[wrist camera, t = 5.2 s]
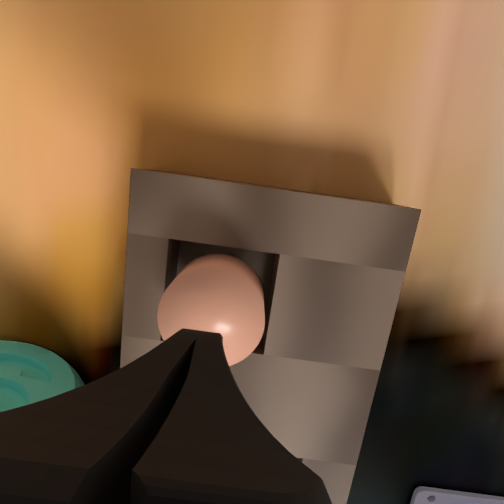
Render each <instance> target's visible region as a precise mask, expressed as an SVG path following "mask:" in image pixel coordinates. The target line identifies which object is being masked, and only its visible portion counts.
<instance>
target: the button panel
mask: <svg viewBox="0 0 504 504" xmlns="http://www.w3.org/2000/svg"><path fill="white" fill-rule="evenodd" d="M420 213H421V210H420V209H415V208H410V207H405V206H399V205H394V204H388V203H381V202H374V201H367V200H360V199H353V198H346V197H339V196H332V195H325V194H317V193H310V192H303V191H296V190H289V189H282V188H275V187H268V186H261V185H254V184H247V183H240V182H233V181H226V180H219V179H212V178H205V177H198V176H191V175H184V174H177V173H170V172H163V171H156V170H146V169H133V168H131V177H130V195H129V214H128V232H127V250H126V269H125V287H124V305H123V323H122V342H121V360H120V368H122V367H124V366H126V365H127V364H129V363H131V362H132V361H134V360H136V359H137V358H139V357H141V356H143V355H144V354H146V353H148V352H149V351H151V350H152V349H153V348H155V347H156V346H158V345H159V344H161V343H162V342H164V340H163V338H162V336H161V334H160V331H159V327H158V320H157V312H158V306H159V303H160V300H161V298H162V295H163V294H164V292H165V290H166V289H167V288H168V286H169V285H170V284H171V283H172V282H173V280H174V279H175V278H176V277H177V275H178V274H179V273H180V272H181V271H182V269H183V268H184V267H185V266H186V265H187V264H188V263H189V262H190V261H192V260H193V259H195V258H197V257H199V256H201V255H204V254H208V253H215V252H220V253H228V254H232V255H235V256H237V257H239V258H241V259H243V260H244V261H246V262H247V263H248V264H249V265H250V266H251V267H252V268H253V269H254V270H255V271H256V273H257V274H258V276H259V278H260V280H261V283H262V286H263V292H264V311H265V327H264V332H263V335H262V338H261V340H260V342H259V344H258V345H257V347H256V348H255V349H254V351H253V352H252V353H251V354H250V355H249V356H247V357H246V358H245V359H244V360H242V361H240V362H238V363H236V364H234V365H231V366H229V367H230V370H231V372H232V375H233V377H234V379H235V381H236V383H237V385H238V387H239V389H240V391H241V393H242V395H243V396H244V398H245V400H246V401H247V403H248V404H249V406H250V407H251V409H252V410H253V412H254V413H255V415H256V416H257V417H258V419H259V420H260V421H261V422H262V423H263V425H264V426H265V427H266V428H267V429H268V431H269V432H270V433H271V434H272V435H273V436H274V437H275V438H276V439H277V440H278V441H279V442H280V443H281V444H282V445H283V446H284V447H285V448H286V449H287V450H288V451H289V452H290V453H291V454H292V455H294V456H295V457H296V458H297V459H299V460H300V461H301V462H302V463H303V464H305V465H306V466H307V467H308V468H310V469H311V470H312V471H313V472H314V473H316V474H317V475H318V476H319V477H321V479H322V480H323V482H324V484H325V487H326V489H327V492H328V494H329V497H330V499H331V502H332V504H346V503H347V499H348V495H349V492H350V488H351V484H352V480H353V476H354V472H355V468H356V464H357V460H358V456H359V452H360V448H361V444H362V440H363V437H364V433H365V429H366V425H367V421H368V417H369V413H370V409H371V405H372V401H373V397H374V393H375V389H376V385H377V382H378V378H379V374H380V370H381V366H382V362H383V358H384V354H385V350H386V346H387V342H388V338H389V334H390V330H391V327H392V323H393V319H394V315H395V311H396V307H397V303H398V299H399V295H400V291H401V287H402V283H403V279H404V275H405V272H406V268H407V264H408V260H409V256H410V252H411V248H412V244H413V240H414V236H415V232H416V228H417V224H418V220H419V217H420Z"/></svg>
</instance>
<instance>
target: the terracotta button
mask: <svg viewBox="0 0 504 504" xmlns="http://www.w3.org/2000/svg"><path fill="white" fill-rule="evenodd" d="M157 320H158V327H159V331H160V334H161V336H162V338H163V340H164V341H165V340H166V339H168V338H169V337H171V336H172V335H173V334H175V333H176V332H178V331H179V330H181V329H182V328H185V329H192V330H199V331H207V332H214V333H220V334H221V335H222V337H223V348H224V352H225V356H226V359H227V362H228V364H229V366H231V365H234V364H236V363H238V362H240V361H242V360H244V359H245V358H246V357H247V356H249V355H250V354H251V353H252V352H253V351H254V349H255V348H256V347H257V345H258V344H259V342H260V340H261V338H262V335H263V332H264V327H265V311H264V292H263V286H262V283H261V280H260V278H259V276H258V274H257V273H256V271H255V270H254V269H253V268H252V267H251V266H250V265H249V264H248V263H247V262H246V261H244V260H243V259H241V258H239V257H237V256H235V255H232V254H228V253H220V252H215V253H208V254H204V255H201V256H199V257H197V258H195V259H193V260H192V261H190V262H189V263H188V264H187V265H186V266H185V267H184V268H183V269H182V271H181V272H180V273H179V274H178V275H177V277H176V278H175V279H174V280H173V282H172V283H171V284H170V285H169V286H168V288H167V289H166V290H165V292H164V294H163V295H162V298H161V300H160V303H159V306H158V312H157Z"/></svg>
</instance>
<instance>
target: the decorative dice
mask: <svg viewBox="0 0 504 504" xmlns="http://www.w3.org/2000/svg"><path fill="white" fill-rule="evenodd" d="M83 385H85V384H84V382H83V381H82V379H81V377H80V376H79V374H78V373H77V372H76V371H75V370H74V369H73V367H72V366H70V365H69V364H68V363H67V362H66V361H65V360H63V359H62V358H61V357H60V356H58V355H57V354H55V353H53V352H51V351H50V350H47V349H45V348H42V347H40V346H36V345H33V344H28V343H23V342H17V341H5V340H0V412H3V411H7V410H10V409H14V408H18V407H21V406H25V405H28V404H32V403H35V402H38V401H41V400H45V399H48V398H51V397H54V396H57V395H59V394H62V393H65V392H67V391H70V390H73V389H75V388H78V387H81V386H83Z"/></svg>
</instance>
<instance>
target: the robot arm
mask: <svg viewBox="0 0 504 504" xmlns="http://www.w3.org/2000/svg"><path fill="white" fill-rule="evenodd" d="M0 504H332V502H331V499H330V497H329V494H328V492H327V489H326V487H325V484H324V482H323V480H322V479H321V477H319V476H318V475H317V474H316V473H314V472H313V471H312V470H311V469H310V468H308V467H307V466H306V465H305V464H303V463H302V462H301V461H300V460H299V459H297V458H296V457H295V456H294V455H292V454H291V453H290V452H289V451H288V450H287V449H286V448H285V447H284V446H283V445H282V444H281V443H280V442H279V441H278V440H277V439H276V438H275V437H274V436H273V435H272V434H271V433H270V432H269V431H268V429H267V428H266V427H265V426H264V425H263V423H262V422H261V421H260V420H259V419H258V417H257V416H256V415H255V413H254V412H253V410H252V409H251V407H250V406H249V404H248V403H247V401H246V400H245V398H244V396H243V395H242V393H241V391H240V389H239V387H238V385H237V383H236V381H235V379H234V377H233V375H232V372H231V370H230V367H229V364H228V362H227V359H226V356H225V352H224V348H223V337H222V335H221V334H220V333H214V332H207V331H199V330H192V329H185V328H182V329H181V330H179V331H178V332H176V333H175V334H173V335H172V336H171V337H169V338H168V339H166V340H165V341H164V342H162V343H161V344H159V345H158V346H156V347H155V348H153V349H152V350H151V351H149V352H148V353H146V354H144V355H143V356H141V357H139V358H137V359H136V360H134V361H132V362H131V363H129V364H127V365H126V366H124V367H122V368H120V369H118V370H116V371H114V372H112V373H110V374H108V375H106V376H104V377H102V378H100V379H97V380H95V381H93V382H91V383H88V384H86V385H83V386H81V387H78V388H75V389H73V390H70V391H67V392H65V393H62V394H59V395H57V396H54V397H51V398H48V399H45V400H41V401H38V402H35V403H32V404H28V405H25V406H21V407H18V408H14V409H10V410H7V411H3V412H0ZM410 504H504V497H500V496H493V495H485V494H477V493H470V492H462V491H454V490H447V489H439V488H431V487H424V486H420V487H417V488H416V489H415V490H414V492H413V496H412V499H411V502H410Z"/></svg>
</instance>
